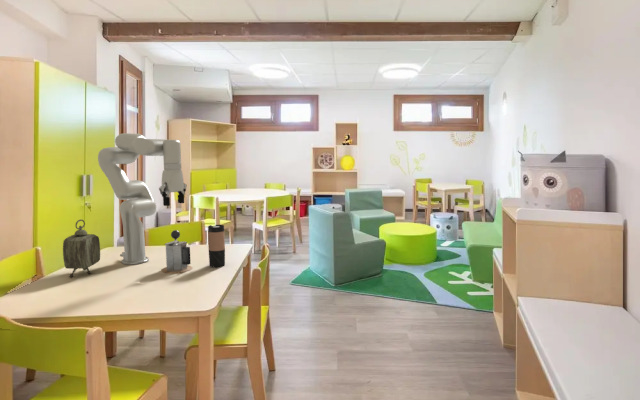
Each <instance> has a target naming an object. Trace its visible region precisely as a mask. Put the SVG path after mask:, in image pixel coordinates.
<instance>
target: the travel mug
mask: <svg viewBox="0 0 640 400" xmlns="http://www.w3.org/2000/svg"><path fill="white" fill-rule="evenodd" d="M207 233H208V234H207V235H208V236H207V237H208V238H207V239H208V241H207V243H208V245H207V246H208V260H209V261H208V263H209V264H208V265H209V267H210V268H222V267H225V265H226V241H225V225H223V224H215V225H212V224H211V225H208V226H207Z"/></svg>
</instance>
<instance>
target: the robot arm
mask: <svg viewBox="0 0 640 400" xmlns="http://www.w3.org/2000/svg"><path fill="white" fill-rule="evenodd" d="M114 143H115V146H109V147H105V148H104V147H103V148H102V149H101V150H99V152H98V154H97V162H98V166H99V168H100V169H101V171H102V172H103V174H104V175H105V177H106V178H107V180H108V182H109V184H110V186H111V189H112V190H113V193H114V194H115V196H116V197H117V198H118V200H120V201H121V200H123V202H121V204H120V205H119V213H120V216H121V221H122V230H123V233H122V234H123V247H124V251H122V252H121V253H120V254H119V257H123V258H122V259H121V264H123V265H139V264H140V265H141V264H145V263H147V262H149V260H150V258H149V257H148V256H146V243H145V242H146V241H145V240H146V239H145V226H144V223H143V222H142V221H141V219H140V218H145V217H150V216H153V215H154V214H155V213H156V212H157V205H156V204H157V203H156V202H155V199H154V197H153V195H152V193H151V191H150V189H149V187H148V185H147V184H146V183H145V182H144V181H142V180H139V179H137V180H136V179H135V180H133V179H132V180H131V179H129V178H128V176H127V174H126V172H125V171H124V170H123V169H122V168H121V167H120V166H118V165H125V164H127V165H128V164H133V163H134V162H135V161H137V159H138V158H139V157H140V156H145V157H148V156H149V157H157V156H158V157H163V170H162V172H161V173H162V174H161V185H160V186H159V187H158V190H159V192H160V195H161V197H162V201H163V206H165V207H166V206H167V207H169V206H170V205H171V201H170V200H171V198H170V197H171V196H170V194H171V193H178V194H177V203H178V204H185V195H186V191H187V184H186V183H185V182H184V175H183V170H182V154H181V153H182V148H181V144H182V143H181V141H180V140H179V139H164V138H163V139H157V138H146V137H145V136H144V135H143V134H141V133H131V132H129V133H127V132H126V133H125V132H124V133H119V134H118V135H117V136H116V137H115V139H114Z"/></svg>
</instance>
